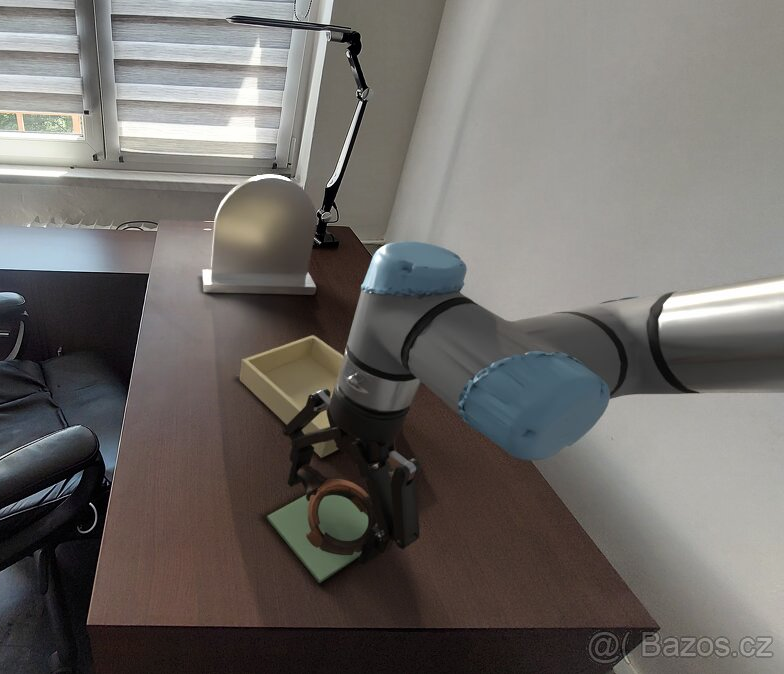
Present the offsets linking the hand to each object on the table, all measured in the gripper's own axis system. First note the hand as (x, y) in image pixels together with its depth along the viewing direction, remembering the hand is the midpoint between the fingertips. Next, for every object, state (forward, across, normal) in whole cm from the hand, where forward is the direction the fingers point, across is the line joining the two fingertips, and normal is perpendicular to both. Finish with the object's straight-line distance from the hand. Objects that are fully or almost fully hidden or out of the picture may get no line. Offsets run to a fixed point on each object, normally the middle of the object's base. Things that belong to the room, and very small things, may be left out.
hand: (329, 516), depth 59 cm
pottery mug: (+1, 0, 0) cm, 1 cm away
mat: (+2, 0, 0) cm, 2 cm away
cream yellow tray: (+3, -20, +17) cm, 26 cm away
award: (+3, -60, +35) cm, 70 cm away
